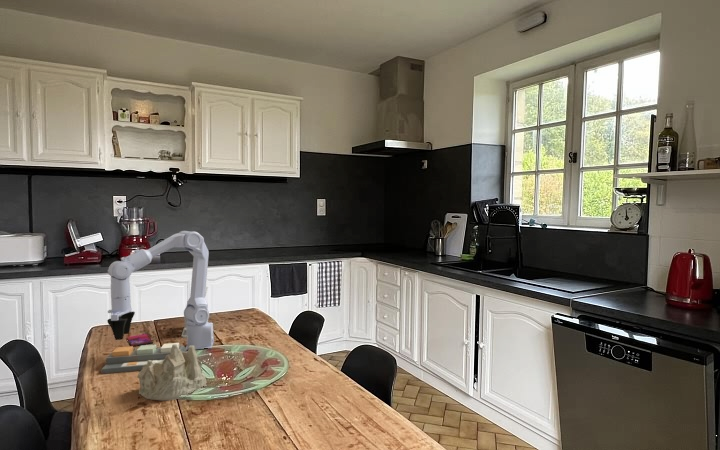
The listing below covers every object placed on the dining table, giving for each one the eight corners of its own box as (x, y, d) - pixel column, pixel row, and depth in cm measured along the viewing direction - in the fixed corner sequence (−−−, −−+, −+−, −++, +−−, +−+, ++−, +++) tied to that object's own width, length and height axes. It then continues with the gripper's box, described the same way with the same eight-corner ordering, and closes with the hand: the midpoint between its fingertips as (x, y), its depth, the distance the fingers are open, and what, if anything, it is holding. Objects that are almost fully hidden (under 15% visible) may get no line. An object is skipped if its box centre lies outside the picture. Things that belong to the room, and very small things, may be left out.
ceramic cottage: (214, 383, 131) (209, 333, 130) (166, 407, 117) (159, 352, 116) (180, 376, 139) (175, 330, 138) (131, 398, 125) (125, 347, 124)
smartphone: (146, 333, 183) (153, 342, 171) (146, 335, 183) (153, 344, 171) (125, 337, 179) (131, 346, 166) (125, 339, 179) (131, 348, 166)
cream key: (179, 348, 155) (179, 342, 155) (176, 352, 150) (176, 347, 150) (164, 349, 154) (163, 343, 154) (160, 354, 149) (160, 348, 149)
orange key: (133, 351, 152) (133, 346, 152) (128, 356, 147) (128, 350, 147) (117, 353, 151) (117, 347, 150) (112, 357, 146) (112, 352, 146)
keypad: (186, 351, 161) (186, 341, 160) (178, 367, 145) (177, 356, 145) (118, 357, 156) (117, 347, 156) (101, 373, 140) (101, 362, 140)
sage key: (156, 350, 153) (156, 344, 153) (152, 354, 148) (152, 348, 148) (141, 351, 152) (140, 345, 152) (136, 356, 147) (136, 350, 147)
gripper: (115, 293, 154) (116, 331, 155) (99, 302, 140) (101, 344, 140) (136, 292, 155) (138, 329, 156) (123, 300, 141) (125, 342, 142)
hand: (122, 336), depth 148 cm, fingers open, 6 cm apart
